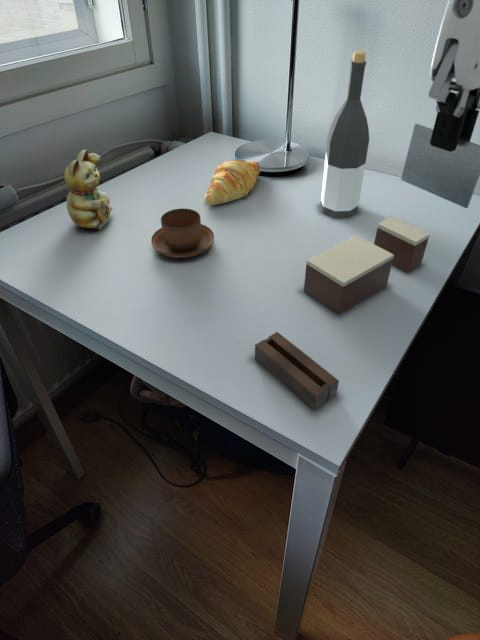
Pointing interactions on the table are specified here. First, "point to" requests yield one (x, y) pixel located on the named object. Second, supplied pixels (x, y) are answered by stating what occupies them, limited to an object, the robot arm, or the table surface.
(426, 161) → the metal dough scraper
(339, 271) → the cake
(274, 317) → the table surface
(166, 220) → the cup and saucer
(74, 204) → the decorative figurine
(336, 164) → the wine bottle
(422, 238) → the cake slice
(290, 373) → the knife stand
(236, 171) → the croissant
